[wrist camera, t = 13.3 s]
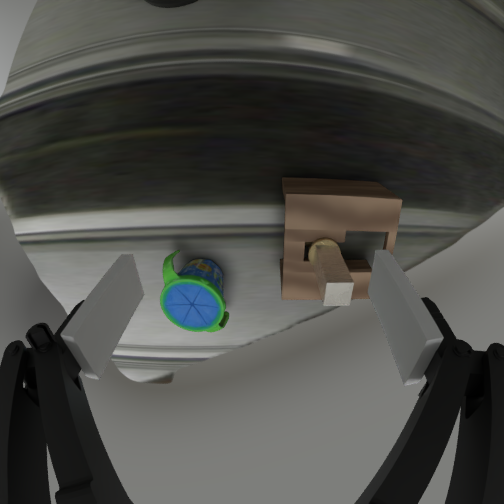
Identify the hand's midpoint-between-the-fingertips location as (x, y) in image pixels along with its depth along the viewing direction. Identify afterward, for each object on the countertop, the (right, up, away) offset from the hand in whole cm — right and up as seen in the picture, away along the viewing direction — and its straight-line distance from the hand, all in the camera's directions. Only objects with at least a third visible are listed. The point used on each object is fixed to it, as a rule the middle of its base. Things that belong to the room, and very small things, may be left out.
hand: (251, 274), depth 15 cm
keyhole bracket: (+13, +6, +32) cm, 35 cm away
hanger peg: (+10, +4, +30) cm, 32 cm away
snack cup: (-9, -3, +38) cm, 39 cm away
